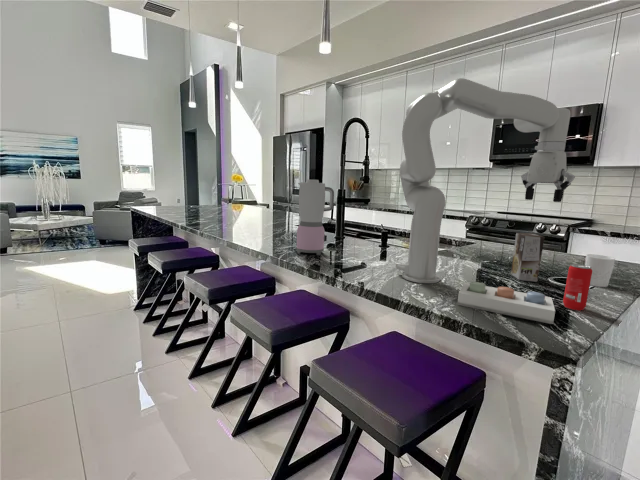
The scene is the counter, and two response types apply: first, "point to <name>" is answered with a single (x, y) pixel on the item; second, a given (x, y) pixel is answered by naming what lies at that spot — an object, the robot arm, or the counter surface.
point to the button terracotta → (505, 292)
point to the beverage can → (577, 287)
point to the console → (507, 304)
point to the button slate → (535, 297)
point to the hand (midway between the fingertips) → (542, 200)
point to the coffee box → (527, 256)
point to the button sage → (477, 287)
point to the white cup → (600, 269)
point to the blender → (312, 216)
